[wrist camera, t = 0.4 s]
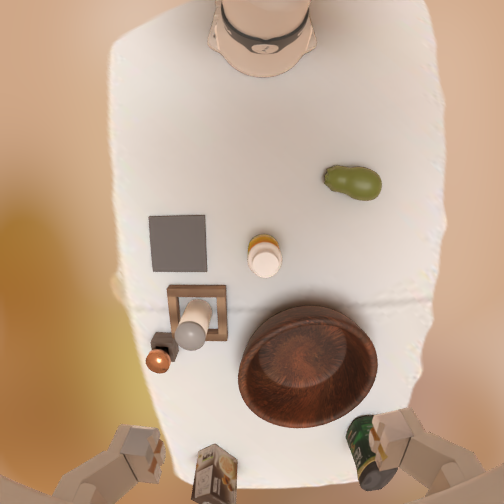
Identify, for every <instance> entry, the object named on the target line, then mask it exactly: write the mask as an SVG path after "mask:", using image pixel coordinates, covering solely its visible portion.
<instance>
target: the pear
mask: <svg viewBox="0 0 504 504" xmlns="http://www.w3.org/2000/svg"><path fill="white" fill-rule="evenodd" d="M327 171H328V172H327V173H326V174H325V180H326V181H325V182H324V184H326V185H327V186H328V187H329V188H330V189H331V190H332V191H335V192H340V193H344V194H347V195H348V196H350V197H351V198H354V199H357V200H362V201H369V200H373V199H375V198H376V197H377V196H378V195H379V194H380V192H381V188H382V182H381V178H380V176H379V175H378V174H377V173H376V172H374V171H373V170H370V169H368V168H364V167H352V168H350V167H344V166H339V165H336V166H334V167H331V168H328V169H327Z"/></svg>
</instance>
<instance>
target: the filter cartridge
mask: <svg viewBox="0 0 504 504" xmlns="http://www.w3.org/2000/svg"><path fill="white" fill-rule="evenodd" d="M211 316H212V309H211V306H210V305H209V304H208V303H207V302H206V301H204V300H201V299H195V300H192V301H190V302H189V303H188V304H187V306H186V309H185V311H184V313H183V315H182V318H181V320H180V322H179V324H178V327H177V329H176V331H175V340H176V342H177V344H178V345H179V346H180V347H182V348H183V349H186V350H190V351H193V350H197V349H199V348H201V347H202V346H203V345H204V342H205V339H206V335H207V331H208V327H209V323H210V320H211Z"/></svg>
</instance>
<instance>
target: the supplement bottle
mask: <svg viewBox="0 0 504 504" xmlns="http://www.w3.org/2000/svg"><path fill="white" fill-rule="evenodd" d="M247 260H248V265H249V268H250V269H251V270H252V271H253V272H254V273H255V274H256V275H258V276H259V277H262V278H269V277H272V276H273V275H275V274H276V273H277V271H278V270H279V268H280V267H281V264H282V254H281V251H280V248H279V245H278V243H277V241H276V240H275V239H274V238H273V237H272V236H270V235H267V234H261V235H257V236H255V237H254V238H253V239H252V240H251V241H250V243H249V246H248V259H247Z"/></svg>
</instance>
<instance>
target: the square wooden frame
mask: <svg viewBox="0 0 504 504" xmlns="http://www.w3.org/2000/svg"><path fill="white" fill-rule="evenodd" d="M167 297H168V306H169V315H170V324H171V332H172V333H162V332H156V333H155V335H154V337H153V339H152V341H151V348H152V350H154V349H160V347H161V346H163V347H167V349H168V351H167V354H168V355H169V356H170V359H171V362H175V359H176V356H177V354H178V344H177V342H176V340H175V331H176V329H177V327H178V324H179V322H180V311H179V300H178V297H217V313H218V329H208V331H207V335H206V339H205V341H227V338H228V330H227V306H226V285H169V286H168V288H167Z"/></svg>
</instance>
